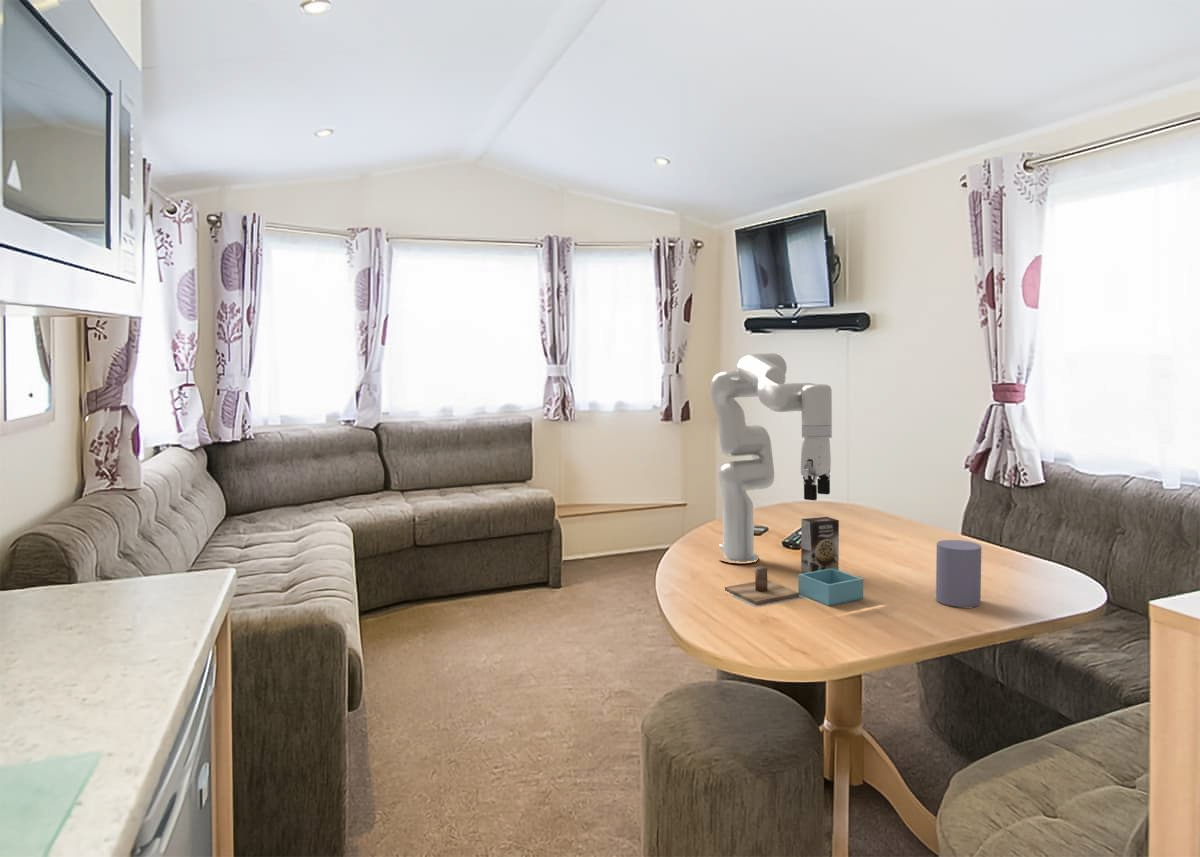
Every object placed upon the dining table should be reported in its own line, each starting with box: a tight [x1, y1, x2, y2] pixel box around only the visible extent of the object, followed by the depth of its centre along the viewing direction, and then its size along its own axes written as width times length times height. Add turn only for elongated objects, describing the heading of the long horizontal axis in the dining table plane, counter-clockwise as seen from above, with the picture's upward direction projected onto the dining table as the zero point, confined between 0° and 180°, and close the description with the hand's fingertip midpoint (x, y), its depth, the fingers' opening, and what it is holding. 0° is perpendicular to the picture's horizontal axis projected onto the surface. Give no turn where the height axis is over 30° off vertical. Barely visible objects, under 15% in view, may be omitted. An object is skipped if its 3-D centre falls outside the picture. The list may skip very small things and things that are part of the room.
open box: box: [797, 568, 864, 607], centre depth 199 cm, size 12×12×6 cm
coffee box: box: [800, 516, 840, 573], centre depth 223 cm, size 9×6×16 cm
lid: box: [724, 566, 799, 605], centre depth 203 cm, size 14×14×7 cm
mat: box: [729, 593, 805, 608], centre depth 203 cm, size 16×16×1 cm
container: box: [935, 539, 982, 608], centre depth 193 cm, size 10×10×15 cm
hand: (817, 496), depth 198 cm, fingers open, 9 cm apart
